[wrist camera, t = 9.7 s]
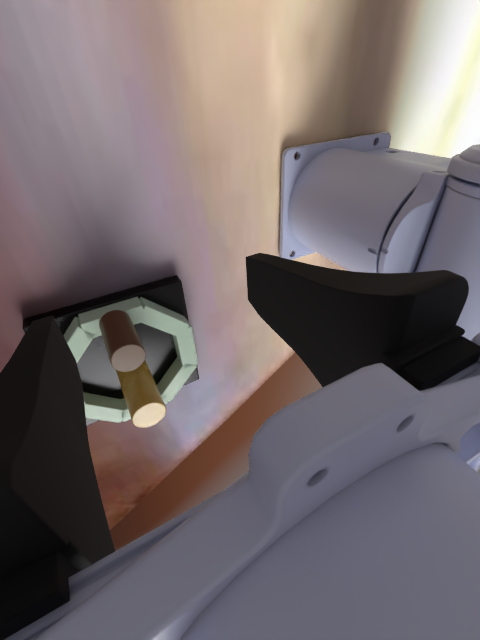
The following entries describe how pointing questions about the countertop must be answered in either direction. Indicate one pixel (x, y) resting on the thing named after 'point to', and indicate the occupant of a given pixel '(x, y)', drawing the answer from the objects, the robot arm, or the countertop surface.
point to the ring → (131, 348)
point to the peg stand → (156, 343)
